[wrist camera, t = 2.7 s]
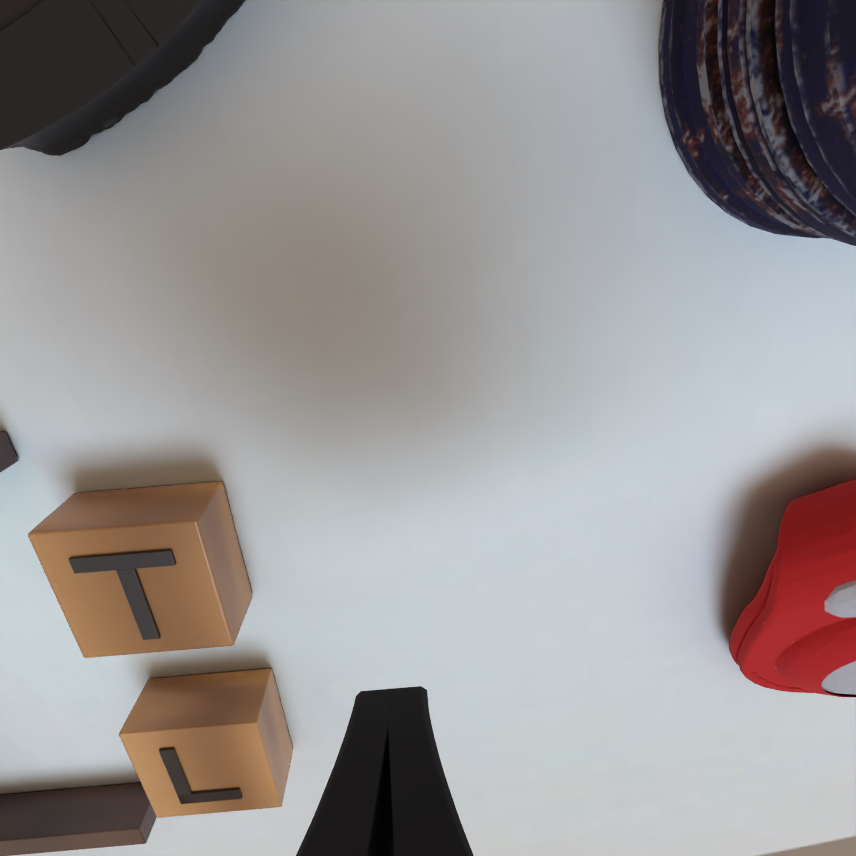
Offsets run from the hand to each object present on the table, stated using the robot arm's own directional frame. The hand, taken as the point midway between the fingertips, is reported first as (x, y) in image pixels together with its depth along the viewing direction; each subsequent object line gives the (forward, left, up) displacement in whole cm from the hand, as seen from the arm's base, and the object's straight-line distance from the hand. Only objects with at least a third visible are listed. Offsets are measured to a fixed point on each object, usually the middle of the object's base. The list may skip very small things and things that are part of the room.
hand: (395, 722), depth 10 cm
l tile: (-8, -8, -7) cm, 13 cm away
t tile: (-8, 0, -7) cm, 10 cm away
